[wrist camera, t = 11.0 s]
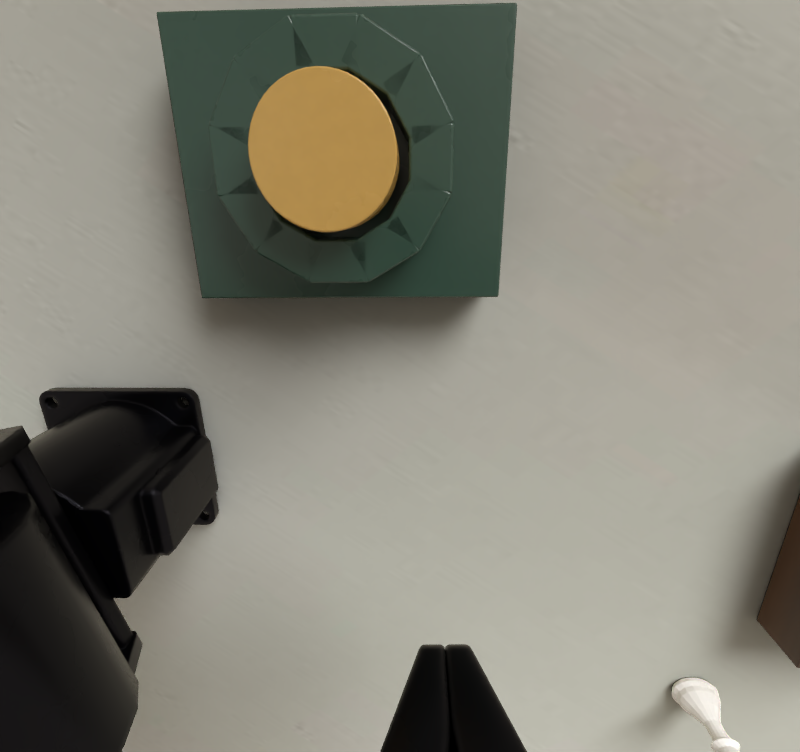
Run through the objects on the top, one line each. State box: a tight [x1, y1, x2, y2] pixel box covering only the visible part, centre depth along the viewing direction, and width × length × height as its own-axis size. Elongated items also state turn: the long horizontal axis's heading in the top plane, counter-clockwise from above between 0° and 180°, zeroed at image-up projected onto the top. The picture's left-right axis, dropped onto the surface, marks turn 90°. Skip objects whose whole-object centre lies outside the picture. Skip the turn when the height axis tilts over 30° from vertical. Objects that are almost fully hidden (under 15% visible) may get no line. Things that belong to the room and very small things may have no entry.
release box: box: [157, 3, 517, 298], centre depth 14 cm, size 10×8×4 cm
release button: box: [248, 66, 399, 232], centre depth 12 cm, size 4×4×2 cm
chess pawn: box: [672, 678, 740, 752], centre depth 22 cm, size 3×2×4 cm
